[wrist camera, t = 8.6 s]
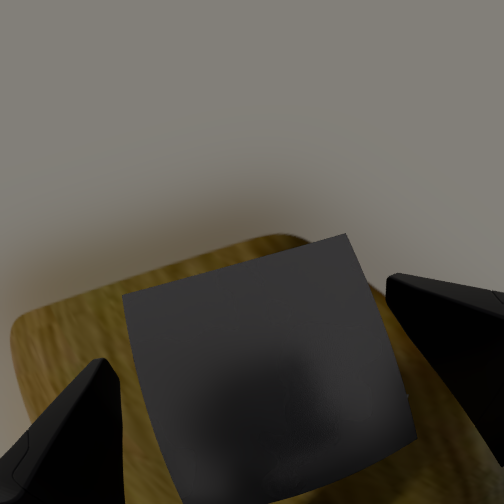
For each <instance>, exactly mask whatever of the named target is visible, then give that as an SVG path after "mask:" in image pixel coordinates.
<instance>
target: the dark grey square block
mask: <svg viewBox="0 0 504 504" xmlns="http://www.w3.org/2000/svg"><path fill="white" fill-rule="evenodd" d="M122 299H123V305H124V312H125V318H126V323H127V329H128V334H129V339H130V344H131V349H132V353H133V358H134V362H135V367H136V371H137V375H138V379H139V383H140V386H141V390H142V394H143V397H144V401H145V404H146V408H147V411H148V414H149V418H150V421H151V424H152V427H153V430H154V433H155V436H156V439H157V441H158V444H159V447H160V450H161V452H162V455H163V458H164V460H165V463H166V465H167V468H168V470H169V473H170V475H171V478H172V480H173V482H174V484H175V487H176V489H177V491H178V493H179V496H180V498H181V500H182V502H183V504H268V503H272V502H276V501H280V500H283V499H287V498H290V497H293V496H297V495H300V494H303V493H306V492H309V491H312V490H314V489H317V488H320V487H323V486H325V485H328V484H330V483H333V482H335V481H338V480H340V479H342V478H345V477H347V476H349V475H352V474H354V473H356V472H358V471H360V470H362V469H364V468H366V467H368V466H370V465H372V464H374V463H376V462H378V461H380V460H382V459H384V458H386V457H387V456H389V455H391V454H393V453H395V452H396V451H398V450H400V449H401V448H403V447H405V446H406V445H408V444H410V443H411V442H413V441H414V440H416V439H417V434H416V430H415V426H414V422H413V418H412V414H411V410H410V406H409V402H408V399H407V395H406V391H405V388H404V385H403V381H402V378H401V374H400V371H399V368H398V365H397V362H396V359H395V356H394V353H393V350H392V347H391V344H390V341H389V338H388V335H387V332H386V329H385V327H384V324H383V321H382V318H381V316H380V313H379V311H378V308H377V305H376V303H375V300H374V298H373V295H372V293H371V290H370V288H369V285H368V283H367V280H366V278H365V276H364V273H363V271H362V269H361V266H360V264H359V262H358V260H357V257H356V255H355V253H354V251H353V248H352V246H351V244H350V242H349V239H348V238H347V235H346V233H345V234H341V235H338V236H335V237H331V238H327V239H324V240H321V241H317V242H313V243H310V244H306V245H303V246H299V247H296V248H292V249H289V250H285V251H281V252H278V253H274V254H271V255H267V256H264V257H260V258H256V259H253V260H249V261H246V262H242V263H238V264H235V265H231V266H228V267H224V268H220V269H217V270H213V271H209V272H206V273H202V274H199V275H195V276H191V277H188V278H184V279H180V280H177V281H173V282H169V283H166V284H162V285H158V286H154V287H151V288H147V289H143V290H140V291H136V292H132V293H128V294H125V295H122Z"/></svg>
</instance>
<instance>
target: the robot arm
mask: <svg viewBox="0 0 504 504" xmlns="http://www.w3.org/2000/svg"><path fill="white" fill-rule="evenodd" d="M385 298H386V303H387V305H388V307H389V308H390V310H391V311H392V313H393V314H394V316H395V317H396V319H397V320H398V322H399V323H400V325H401V326H402V328H403V329H404V331H405V332H406V334H407V335H408V337H409V338H410V339H411V341H412V342H413V343H414V345H415V346H416V347H417V348H418V350H419V351H420V352H421V353H422V355H423V356H424V357H425V358H426V360H427V361H428V362H429V363H430V365H431V366H432V367H433V369H434V370H435V371H436V372H437V374H438V375H439V376H440V378H441V379H442V380H443V382H444V383H445V384H446V386H447V387H448V388H449V390H450V391H451V393H452V394H453V395H454V397H455V398H456V399H457V401H458V402H459V404H460V405H461V406H462V408H463V409H464V411H465V412H466V413H467V415H468V416H469V418H470V419H471V421H472V422H473V424H474V425H475V427H476V428H477V430H478V431H479V433H480V434H481V436H482V437H483V439H484V441H485V442H486V444H487V445H488V447H489V448H490V450H491V452H492V453H493V455H494V456H495V458H496V460H497V461H498V463H499V465H500V466H501V467H503V466H504V293H503V292H497V291H490V290H487V289H481V288H476V287H471V286H466V285H460V284H455V283H450V282H445V281H439V280H434V279H429V278H423V277H418V276H413V275H408V274H402V273H396V274H393V275H391V276H389V277H388V278H387V281H386V297H385ZM122 437H123V424H122V410H121V394H120V381H119V378H118V376H117V374H116V373H115V371H114V370H113V368H112V367H111V365H110V364H109V362H108V361H107V360H106V359H105V358H99V359H94V360H92V361H91V362H90V363H89V364H88V365H87V366H86V367H85V368H84V369H83V370H82V371H81V373H80V374H79V375H78V376H77V377H76V378H75V379H74V380H73V381H72V382H71V383H70V384H69V385H68V386H67V387H66V388H65V389H64V390H63V391H62V392H61V394H60V395H59V396H58V397H57V398H56V399H55V400H54V401H53V402H52V403H51V404H50V405H49V406H48V407H47V409H46V410H45V411H44V412H43V413H42V414H41V415H40V416H39V417H38V418H37V420H36V421H35V422H34V423H33V424H32V425H31V426H30V427H29V430H27V431H26V432H25V433H24V434H23V435H22V436H21V438H19V440H18V441H17V442H16V443H15V444H14V445H13V446H12V447H11V448H10V449H9V450H8V451H7V452H6V453H5V454H4V455H3V456H2V457H1V458H0V504H125V496H124V481H123V448H122Z"/></svg>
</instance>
